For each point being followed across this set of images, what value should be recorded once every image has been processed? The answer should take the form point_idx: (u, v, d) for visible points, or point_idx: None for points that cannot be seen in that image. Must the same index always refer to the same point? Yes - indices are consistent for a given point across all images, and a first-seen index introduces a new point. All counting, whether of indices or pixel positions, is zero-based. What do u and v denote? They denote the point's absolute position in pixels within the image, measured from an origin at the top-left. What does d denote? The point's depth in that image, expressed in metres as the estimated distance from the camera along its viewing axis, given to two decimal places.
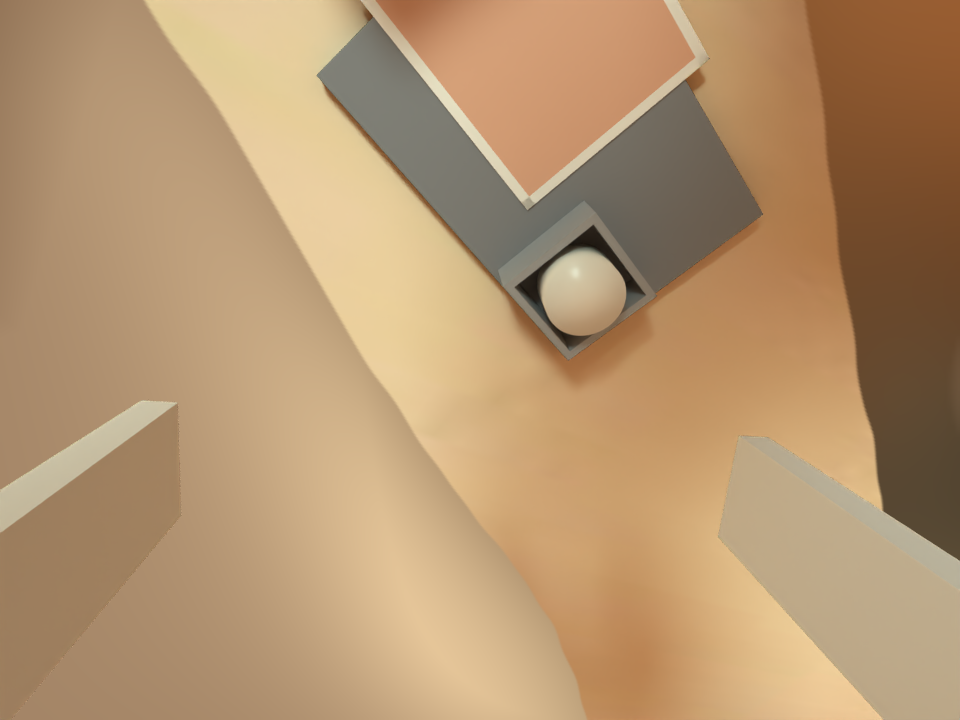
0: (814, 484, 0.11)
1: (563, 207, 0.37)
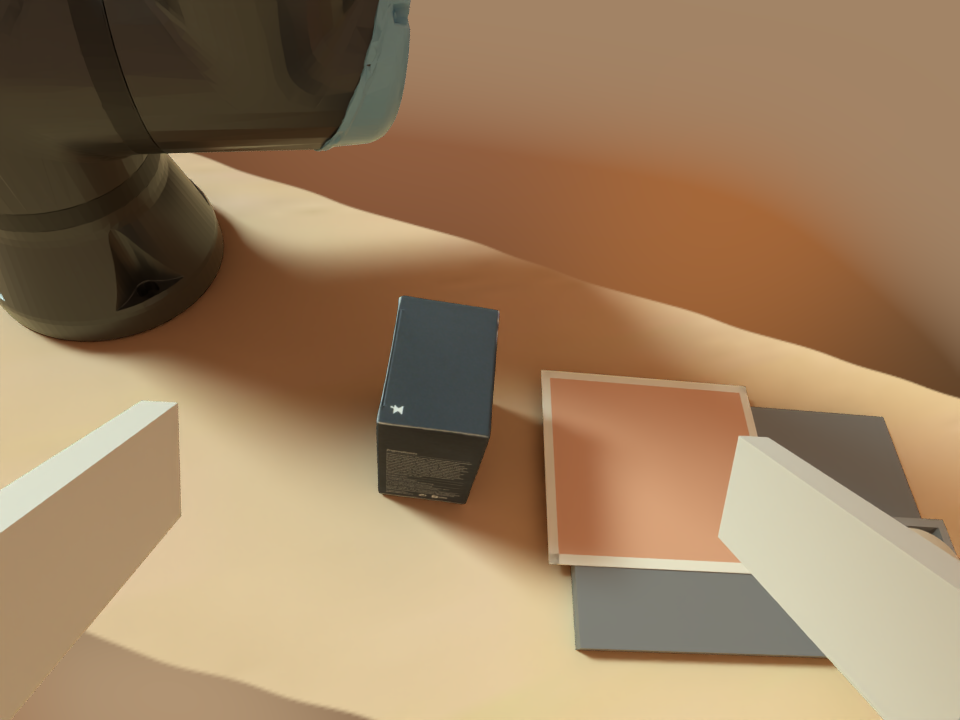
0: (814, 484, 0.11)
1: None
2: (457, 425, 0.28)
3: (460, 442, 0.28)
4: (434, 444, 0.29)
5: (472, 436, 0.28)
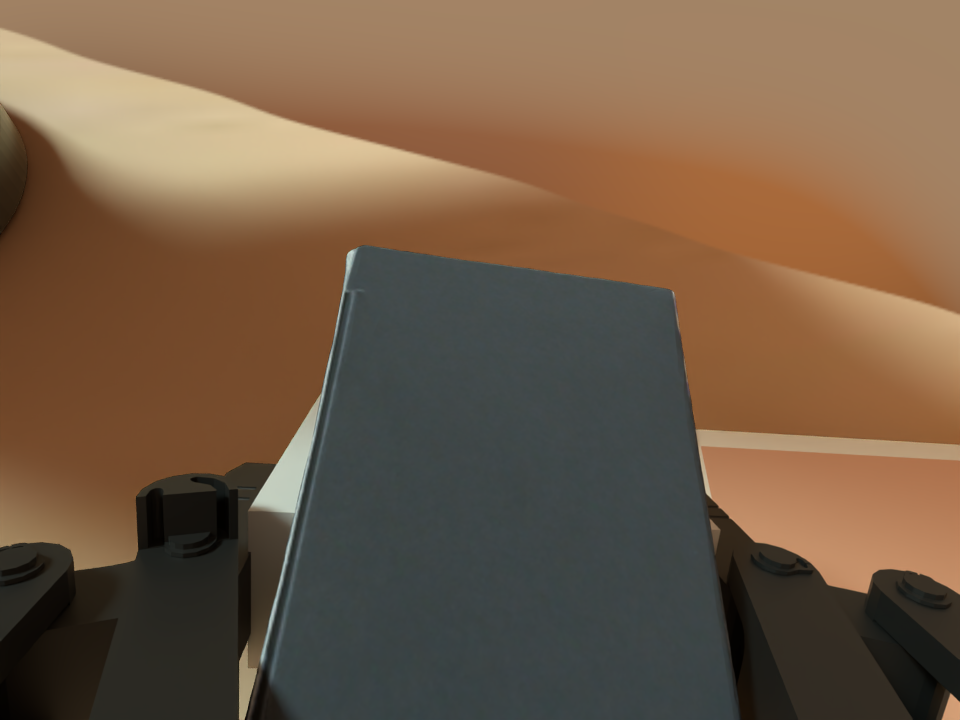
0: None
1: None
2: None
3: None
4: None
5: None
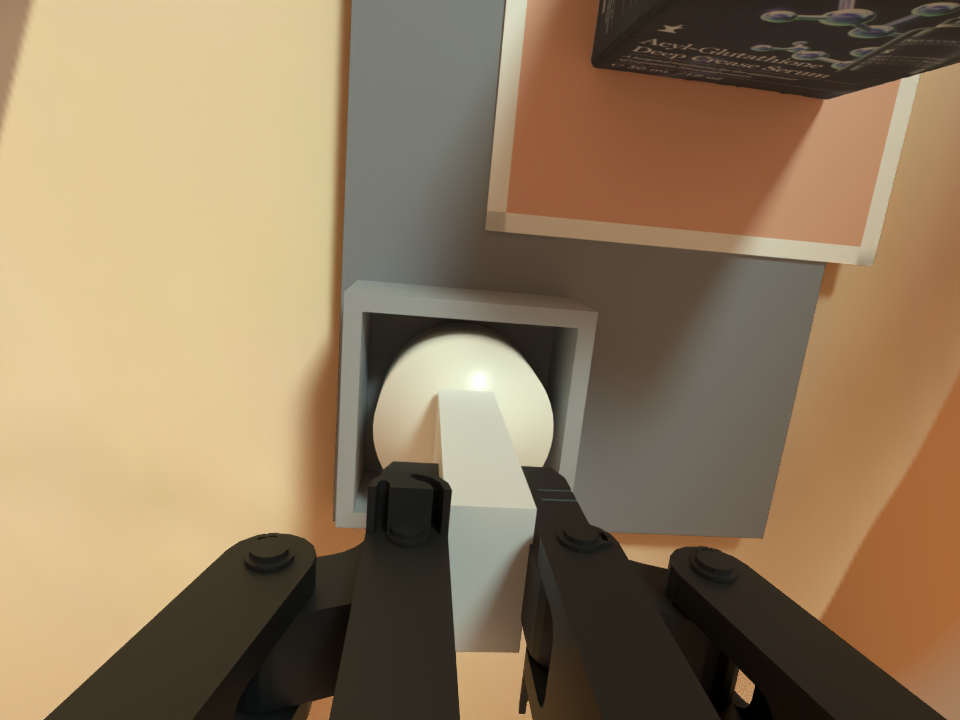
0: (478, 423, 0.13)
1: (537, 279, 0.19)
2: None
3: None
4: None
5: None
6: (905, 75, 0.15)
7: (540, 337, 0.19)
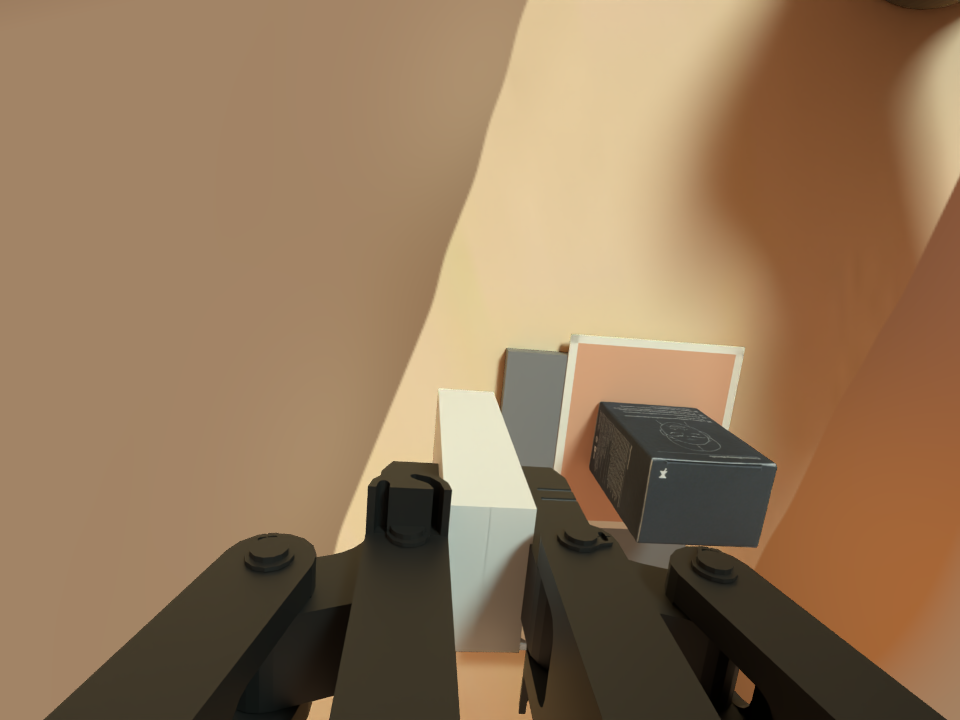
0: (478, 424, 0.13)
1: None
2: (647, 520, 0.34)
3: (634, 516, 0.35)
4: (633, 491, 0.35)
5: (638, 530, 0.34)
6: None
7: None
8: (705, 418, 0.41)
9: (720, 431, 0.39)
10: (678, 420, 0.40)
